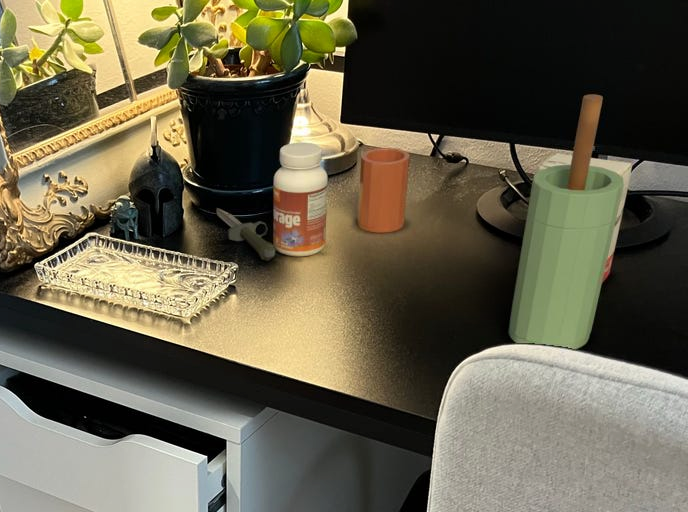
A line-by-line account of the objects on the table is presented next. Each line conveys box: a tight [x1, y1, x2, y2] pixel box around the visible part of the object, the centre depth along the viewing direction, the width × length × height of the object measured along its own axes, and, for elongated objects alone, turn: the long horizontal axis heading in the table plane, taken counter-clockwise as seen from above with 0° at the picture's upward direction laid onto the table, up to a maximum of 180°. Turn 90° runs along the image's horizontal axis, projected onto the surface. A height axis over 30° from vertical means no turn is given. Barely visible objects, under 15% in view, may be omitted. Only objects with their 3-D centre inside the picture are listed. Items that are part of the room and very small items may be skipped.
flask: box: [508, 164, 624, 350], centre depth 96 cm, size 8×8×15 cm
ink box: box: [537, 152, 633, 284], centre depth 107 cm, size 9×5×12 cm, turn 56°
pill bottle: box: [273, 141, 329, 257], centre depth 116 cm, size 6×6×11 cm
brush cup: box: [357, 147, 411, 234], centre depth 121 cm, size 6×6×8 cm
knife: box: [216, 207, 277, 262], centre depth 123 cm, size 19×2×5 cm
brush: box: [566, 93, 604, 191], centre depth 93 cm, size 3×3×21 cm
